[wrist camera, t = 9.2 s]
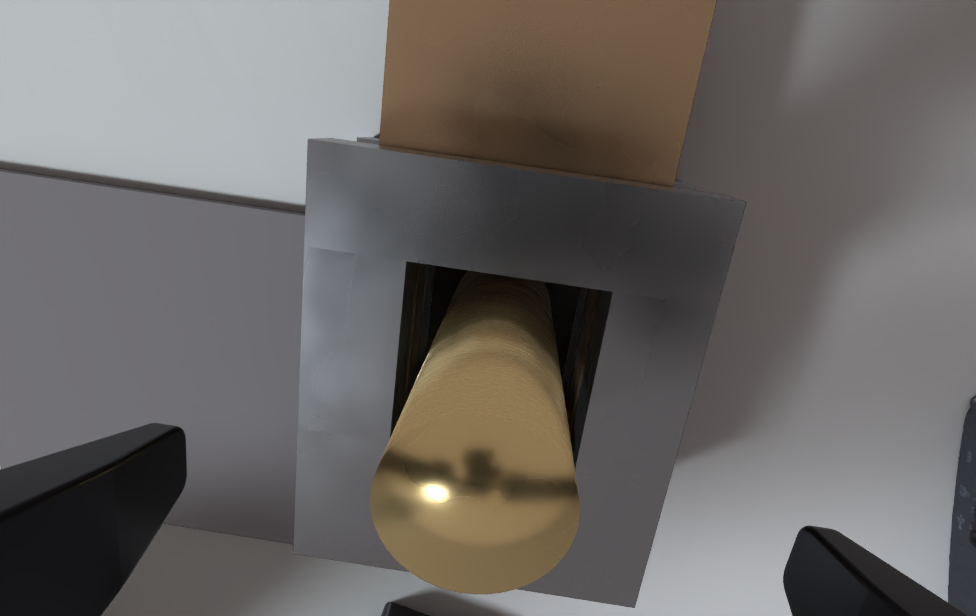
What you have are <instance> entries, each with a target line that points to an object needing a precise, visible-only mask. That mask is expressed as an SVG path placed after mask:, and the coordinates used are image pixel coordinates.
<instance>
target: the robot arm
mask: <svg viewBox="0 0 976 616" xmlns="http://www.w3.org/2000/svg"><path fill="white" fill-rule="evenodd" d="M186 479H187V457H186V436H185V432H184V430H183V429H182V428H181V427H179V426H173V425H167V424H161V423H150V424H147V425H144V426H141V427H137V428H134V429H131V430H127V431H124V432H121V433H118V434H114V435H111V436H108V437H105V438H101V439H98V440H95V441H92V442H88V443H85V444H82V445H79V446H75V447H72V448H69V449H66V450H62V451H59V452H56V453H53V454H49V455H46V456H43V457H40V458H36V459H33V460H30V461H27V462H23V463H20V464H17V465H14V466H10V467H7V468H4V469H1V470H0V616H101V615H102V613H103V612H104V611H105V609H106V608H107V607H108V605H109V604H110V603H111V601H112V600H113V599H114V597H115V596H116V595H117V593H118V592H119V591H120V589H121V588H122V586H123V585H124V583H125V582H126V580H127V579H128V577H129V576H130V574H131V573H132V571H133V570H134V568H135V567H136V565H137V564H138V562H139V560H140V559H141V557H142V556H143V554H144V552H145V551H146V549H147V548H148V546H149V544H150V543H151V541H152V540H153V538H154V536H155V535H156V533H157V532H158V530H159V528H160V527H161V525H162V524H163V522H164V520H165V519H166V517H167V516H168V514H169V512H170V511H171V509H172V508H173V506H174V504H175V503H176V501H177V500H178V498H179V497H180V495H181V493H182V491H183V489H184V487H185V484H186ZM783 583H784V589H785V593H786V596H787V599H788V602H789V606H790V609H791V612H792V615H793V616H968V615H966V614H964V613H963V612H961V611H960V610H958V609H957V608H955V607H954V606H952V605H951V604H949V603H947V602H946V601H944V600H943V599H941V598H940V597H938V596H937V595H935V594H934V593H932V592H931V591H929V590H927V589H926V588H924V587H923V586H921V585H920V584H918V583H917V582H915V581H914V580H912V579H911V578H909V577H907V576H906V575H904V574H903V573H901V572H900V571H898V570H897V569H895V568H894V567H892V566H890V565H889V564H887V563H886V562H884V561H883V560H881V559H880V558H878V557H877V556H875V555H874V554H872V553H870V552H869V551H867V550H866V549H864V548H863V547H861V546H860V545H858V544H857V543H855V542H854V541H852V540H850V539H849V538H847V537H846V536H844V535H843V534H841V533H840V532H838V531H836V530H833V529H828V528H822V527H815V526H805V527H803V528H802V529H801V530H800V531H799V533H798V535H797V537H796V540H795V543H794V545H793V548H792V551H791V553H790V556H789V559H788V561H787V564H786V567H785V570H784V576H783Z"/></svg>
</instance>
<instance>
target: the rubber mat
mask: <svg viewBox="0 0 976 616" xmlns="http://www.w3.org/2000/svg"><path fill="white" fill-rule="evenodd" d="M304 237H305V213H299V212H292V211H285V210H278V209H271V208H265V207H258V206H251V205H244V204H237V203H231V202H224V201H217V200H210V199H203V198H197V197H190V196H183V195H176V194H169V193H162V192H156V191H149V190H142V189H135V188H128V187H122V186H115V185H108V184H101V183H94V182H88V181H81V180H74V179H67V178H60V177H54V176H47V175H40V174H33V173H26V172H19V171H13V170H6V169H0V466H1V469H4V468H7V467H10V466H14V465H17V464H20V463H23V462H27V461H30V460H33V459H36V458H40V457H43V456H46V455H49V454H53V453H56V452H59V451H62V450H66V449H69V448H72V447H75V446H79V445H82V444H85V443H88V442H92V441H95V440H98V439H101V438H105V437H108V436H111V435H114V434H118V433H121V432H124V431H127V430H131V429H134V428H137V427H141V426H144V425H147V424H150V423H161V424H167V425H173V426H179V427H181V428H182V429H183V430H184V432H185V436H186V457H187V479H186V484H185V487H184V489H183V491H182V493H181V495H180V497H179V498H178V500H177V501H176V503H175V504H174V506H173V508H172V509H171V511H170V512H169V514H168V516H167V517H166V519H165V520H164V522H163V524H169V525H175V526H182V527H188V528H194V529H201V530H207V531H213V532H219V533H226V534H232V535H238V536H245V537H251V538H257V539H263V540H270V541H276V542H282V543H289V544H294V522H295V493H296V465H297V436H298V408H299V379H300V351H301V322H302V294H303V265H304Z"/></svg>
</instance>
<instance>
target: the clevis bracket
mask: <svg viewBox="0 0 976 616" xmlns="http://www.w3.org/2000/svg"><path fill="white" fill-rule="evenodd" d="M716 1H717V0H390V2H389V16H388V30H387V43H386V57H385V71H384V85H383V98H382V112H381V126H380V138H375V137H358V138H357V142H355V141H348V140H341V139H334V138H321V139H308V151H307V180H306V208H305V237H304V265H303V294H302V322H301V351H300V379H299V408H298V436H297V465H296V493H295V522H294V550H293V554H300V555H306V556H312V557H319V558H325V559H331V560H337V561H344V562H350V563H356V564H362V565H369V566H375V567H381V568H387V569H394V570H400V571H406V572H410V571H408V570H407V569H406V568H404V567H403V566H402V565H401V564H400V563H399V562H398V561H397V560H396V559H395V558H394V557H393V556H392V555H391V554H390V552H389V551H388V550H387V549H386V547H385V546H384V544H383V542H382V541H381V539H380V537H379V535H378V533H377V531H376V528H375V525H374V522H373V519H372V514H371V507H370V492H371V486H372V481H373V478H374V475H375V472H376V469H377V467H378V465H379V463H380V460H381V458H382V456H383V454H384V451H385V449H386V447H387V444H388V442H389V440H390V438H391V435H392V433H393V431H394V429H395V426H396V424H397V422H398V420H399V417H400V415H401V413H402V411H403V408H404V406H405V404H406V402H407V399H408V397H409V395H410V393H411V390H412V388H413V386H414V383H415V381H416V379H417V377H418V374H419V372H420V370H421V368H422V365H423V363H424V361H425V358H426V348H427V339H428V330H429V321H430V312H431V303H432V294H433V285H434V276H435V266H442V267H449V268H455V269H462V270H469V271H476V272H482V273H489V274H496V275H503V276H509V277H516V278H523V279H530V280H536V281H543V282H550V283H557V284H563V285H570V286H577V287H580V291H579V296H578V302H577V307H576V312H575V317H574V322H573V327H572V333H571V338H570V343H569V348H568V353H567V358H566V364H565V369H564V374H563V379H562V386H563V393H564V399H565V406H566V413H567V420H568V426H569V433H570V440H571V447H572V454H573V460H574V467H575V474H576V481H577V487H578V494H579V501H580V518H579V525H578V529H577V532H576V535H575V538H574V540H573V542H572V544H571V546H570V548H569V550H568V551H567V553H566V554H565V556H564V557H563V558H562V559H561V560H560V562H559V563H558V564H557V565H556V566H555V567H554V568H553V569H551V570H550V571H549V572H548V573H547V574H545V575H544V576H542V577H541V578H539V579H537V580H536V581H534V582H532V583H530V584H527V585H525V586H523V587H520V588H517V589H519V590H525V591H532V592H538V593H544V594H551V595H557V596H563V597H569V598H576V599H582V600H588V601H594V602H601V603H607V604H613V605H619V606H626V607H632V608H635V605H636V601H637V598H638V594H639V591H640V587H641V583H642V580H643V576H644V572H645V569H646V565H647V561H648V558H649V554H650V551H651V547H652V543H653V540H654V536H655V532H656V529H657V525H658V521H659V518H660V514H661V511H662V507H663V503H664V500H665V496H666V492H667V489H668V485H669V482H670V478H671V474H672V471H673V467H674V463H675V460H676V456H677V452H678V449H679V445H680V442H681V438H682V434H683V431H684V427H685V423H686V420H687V416H688V413H689V409H690V405H691V402H692V398H693V394H694V391H695V387H696V383H697V380H698V376H699V373H700V369H701V365H702V362H703V358H704V354H705V351H706V347H707V344H708V340H709V336H710V333H711V329H712V325H713V322H714V318H715V314H716V311H717V307H718V304H719V300H720V296H721V293H722V289H723V285H724V282H725V278H726V275H727V271H728V267H729V264H730V260H731V256H732V253H733V249H734V245H735V242H736V238H737V235H738V231H739V227H740V224H741V220H742V216H743V213H744V209H745V205H746V202H745V201H742V200H738V199H735V198H732V197H729V196H726V195H722V194H716V193H709V192H702V191H696V190H695V188H696V186H694V185H690V184H687V183H684V182H681V181H675V177H676V173H677V169H678V164H679V160H680V156H681V151H682V147H683V143H684V139H685V134H686V130H687V126H688V121H689V117H690V113H691V109H692V104H693V100H694V96H695V91H696V87H697V83H698V79H699V74H700V70H701V66H702V61H703V57H704V53H705V49H706V44H707V40H708V36H709V31H710V27H711V23H712V19H713V14H714V10H715V6H716Z"/></svg>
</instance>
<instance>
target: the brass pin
mask: <svg viewBox="0 0 976 616" xmlns="http://www.w3.org/2000/svg"><path fill="white" fill-rule="evenodd" d="M370 507H371V514H372V519H373V522H374V525H375V528H376V531H377V533H378V535H379V537H380V539H381V541H382V542H383V544H384V546H385V547H386V549H387V550H388V551H389V552H390V554H391V555H392V556H393V557H394V558H395V559H396V560H397V561H398V562H399V563H400V564H401V565H402V566H403V567H404V568H406V569H407V570H408V571H410V572H411V573H412V574H414V575H416V576H417V577H419V578H421V579H422V580H424V581H426V582H428V583H431V584H433V585H435V586H438V587H441V588H444V589H447V590H451V591H456V592H460V593H469V594H493V593H501V592H506V591H510V590H514V589H517V588H520V587H523V586H525V585H527V584H530V583H532V582H534V581H536V580H537V579H539V578H541V577H542V576H544V575H545V574H547V573H548V572H549V571H550V570H551V569H553V568H554V567H555V566H556V565H557V564H558V563H559V562H560V560H561V559H562V558H563V557H564V556H565V554H566V553H567V551H568V550H569V548H570V546H571V544H572V542H573V540H574V538H575V535H576V532H577V529H578V525H579V518H580V501H579V494H578V487H577V481H576V474H575V467H574V460H573V454H572V447H571V440H570V433H569V426H568V420H567V413H566V406H565V399H564V393H563V386H562V379H561V372H560V365H559V359H558V352H557V345H556V338H555V332H554V325H553V318H552V311H551V304H550V298H549V293H548V290H547V287H546V285H545V283H544V282H543V281H536V280H530V279H523V278H516V277H509V276H503V275H496V274H489V273H482V272H476V271H469V270H468V271H467V273H466V274H465V275H464V276H463V277H462V279H461V280H460V282H459V284H458V286H457V289H456V291H455V293H454V295H453V298H452V300H451V302H450V304H449V307H448V309H447V311H446V313H445V316H444V318H443V320H442V322H441V325H440V327H439V329H438V331H437V334H436V336H435V338H434V341H433V343H432V345H431V347H430V350H429V352H428V354H427V356H426V359H425V361H424V363H423V365H422V368H421V370H420V372H419V374H418V377H417V379H416V381H415V383H414V386H413V388H412V390H411V393H410V395H409V397H408V399H407V402H406V404H405V406H404V408H403V411H402V413H401V415H400V417H399V420H398V422H397V424H396V426H395V429H394V431H393V433H392V435H391V438H390V440H389V442H388V444H387V447H386V449H385V451H384V454H383V456H382V458H381V460H380V463H379V465H378V467H377V469H376V472H375V475H374V478H373V481H372V486H371V492H370Z"/></svg>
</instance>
